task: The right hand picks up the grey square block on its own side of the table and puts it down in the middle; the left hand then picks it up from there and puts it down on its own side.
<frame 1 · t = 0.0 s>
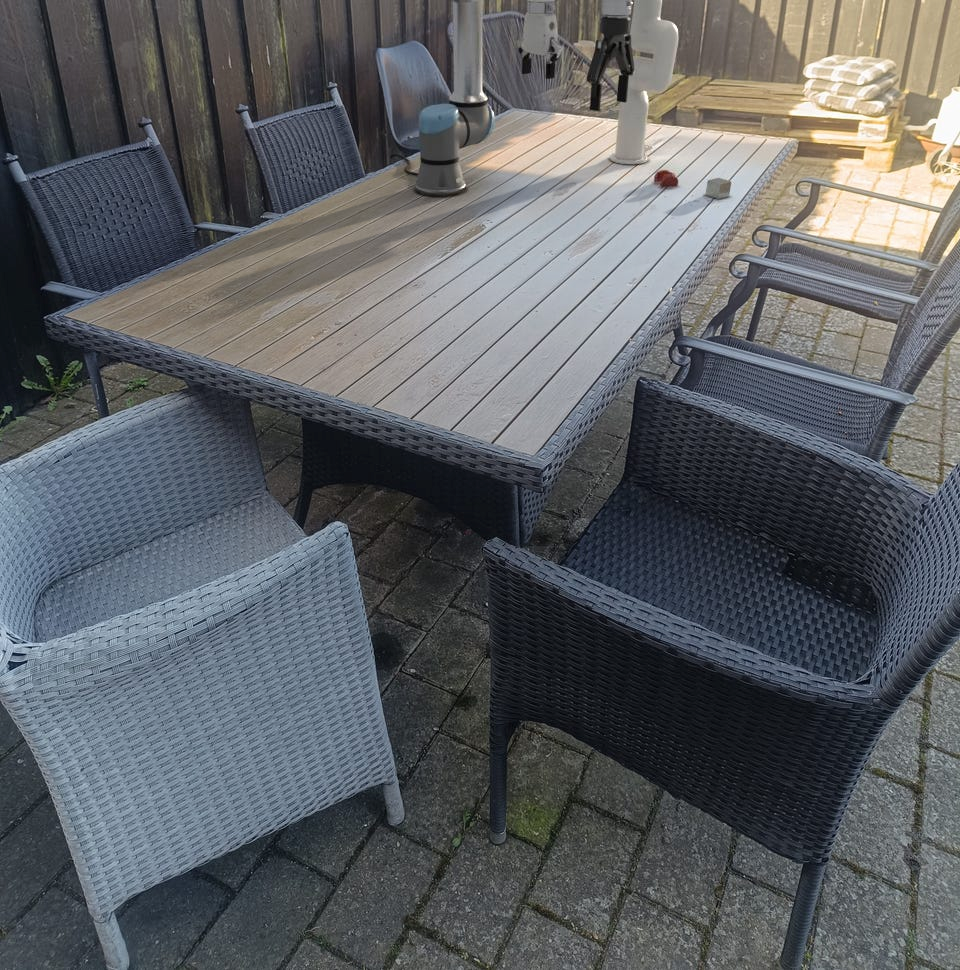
left hand: (608, 106, 226), 28 cm above the table, tool pointing down, fingers open, 13 cm apart
right hand: (538, 75, 244), 31 cm above the table, tool pointing down, fingers open, 9 cm apart
red lumpy rounded piece: (665, 184, 263), on the table
grey square block: (717, 195, 254), on the table
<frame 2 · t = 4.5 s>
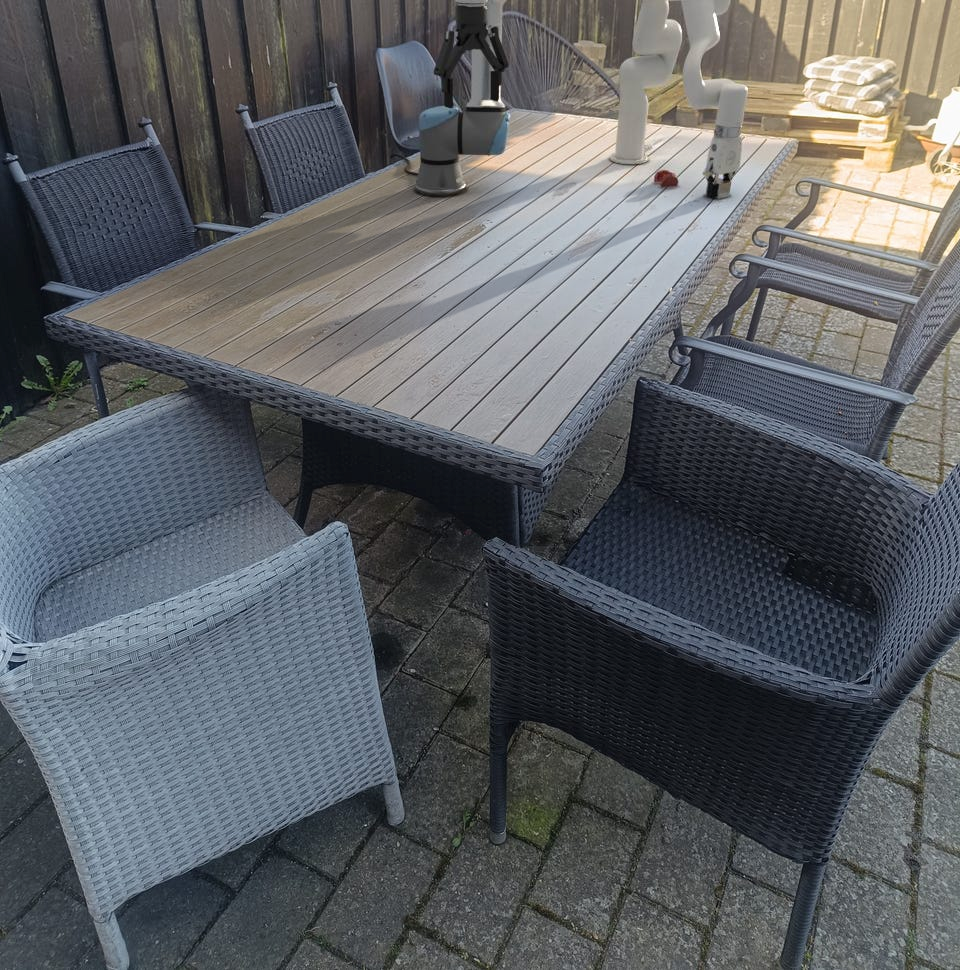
left hand: (472, 104, 206), 33 cm above the table, tool pointing down, fingers open, 13 cm apart
right hand: (717, 194, 253), 0 cm above the table, tool pointing down, fingers closed on grey square block, 4 cm apart
grey square block: (717, 195, 254), on the table, touching right hand
everything else where it was.
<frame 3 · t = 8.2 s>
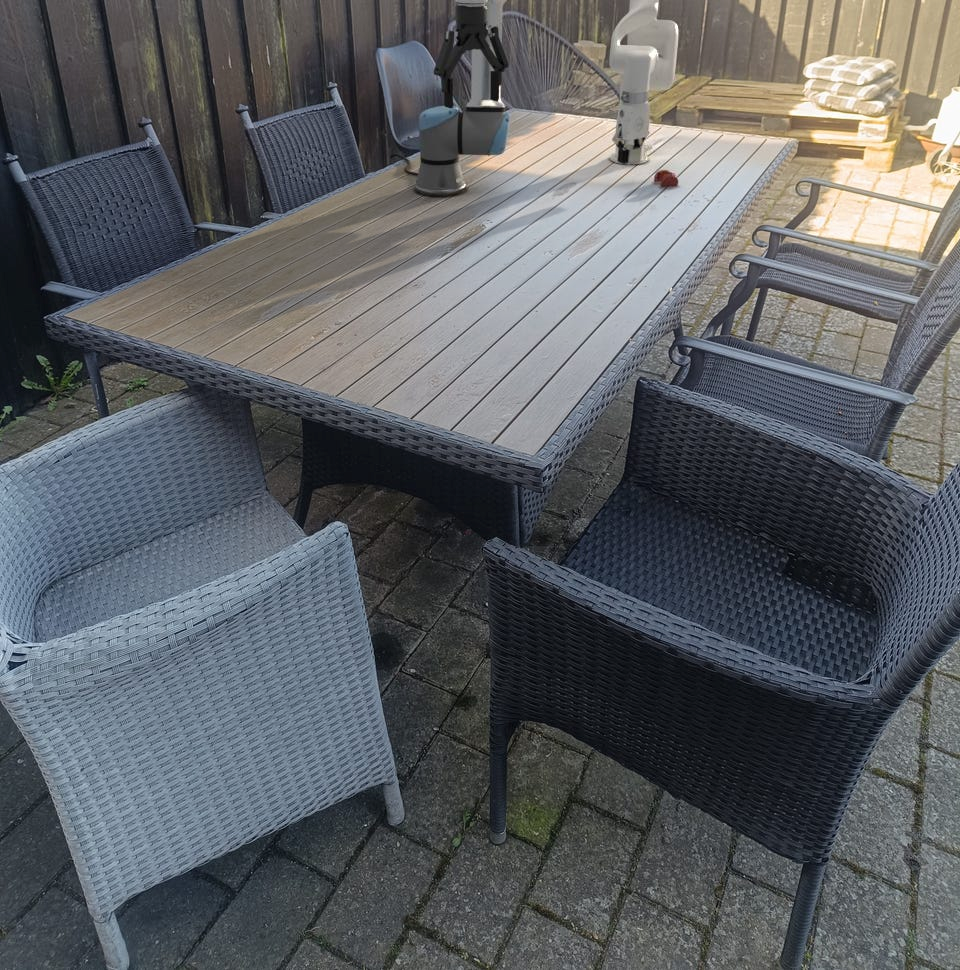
left hand: (472, 104, 206), 33 cm above the table, tool pointing down, fingers open, 13 cm apart
right hand: (628, 160, 259), 7 cm above the table, tool pointing down, fingers closed on grey square block, 4 cm apart
grey square block: (628, 161, 259), point 7 cm above the table, touching right hand
everything else where it was.
when the right hand's fingers open (1 cm above the table, at t = 11.8 s): grey square block stays where it is, on the table.
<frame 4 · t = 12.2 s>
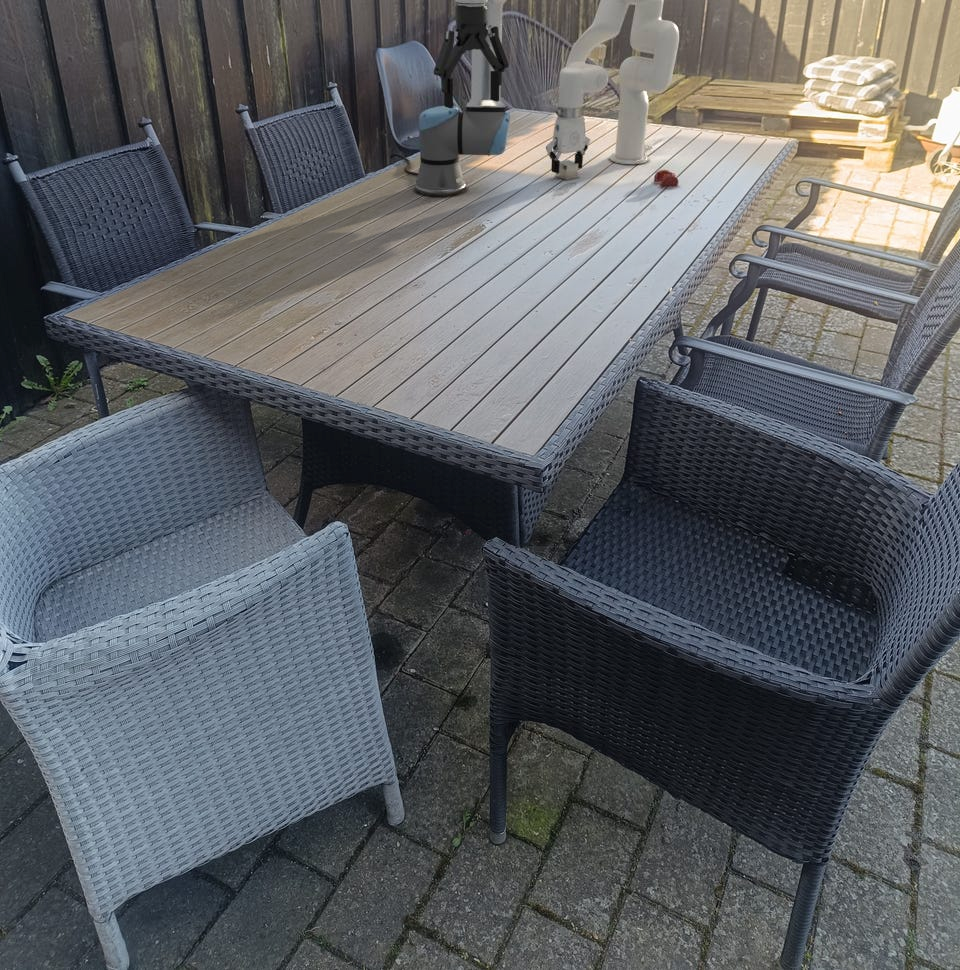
left hand: (472, 104, 206), 33 cm above the table, tool pointing down, fingers open, 13 cm apart
right hand: (566, 169, 269), 2 cm above the table, tool pointing down, fingers open, 9 cm apart
grey square block: (566, 176, 270), on the table
everything else where it was.
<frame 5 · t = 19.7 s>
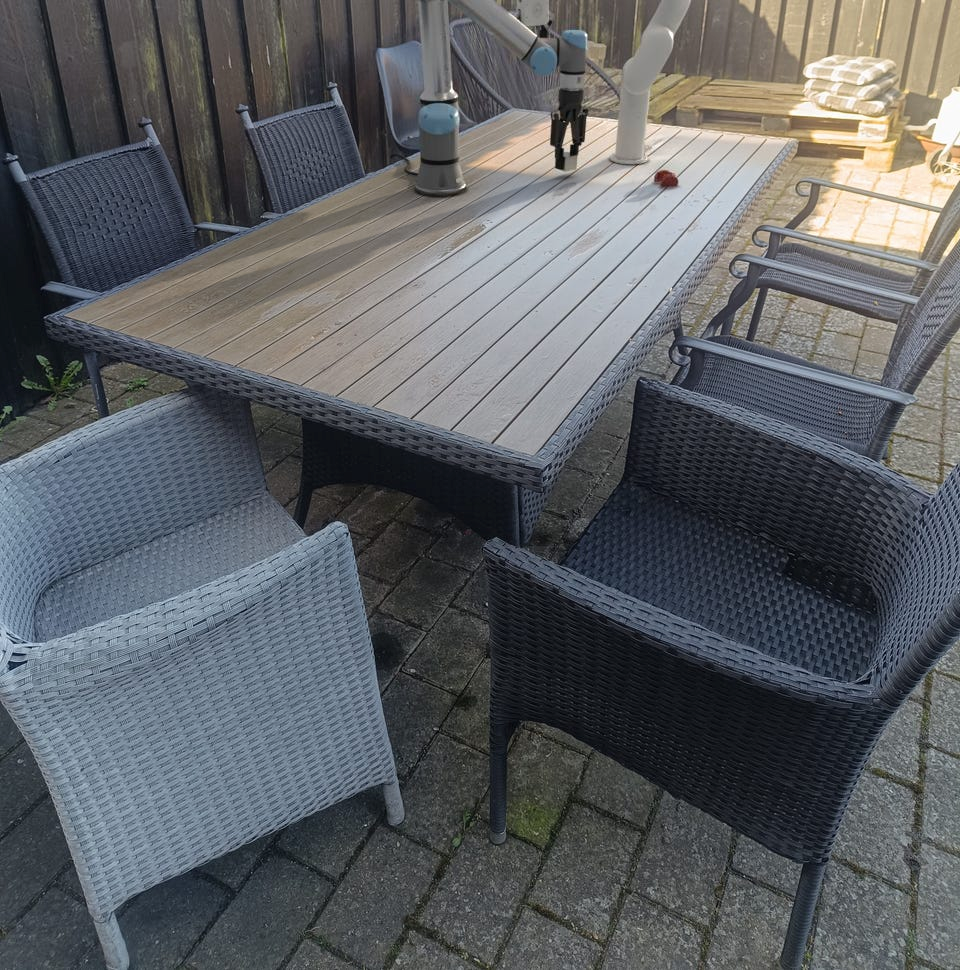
left hand: (565, 167, 268), 3 cm above the table, tool pointing down, fingers closed on grey square block, 5 cm apart
right hand: (531, 45, 269), 34 cm above the table, tool pointing down, fingers open, 9 cm apart
grey square block: (565, 168, 268), point 3 cm above the table, touching left hand
everything else where it was.
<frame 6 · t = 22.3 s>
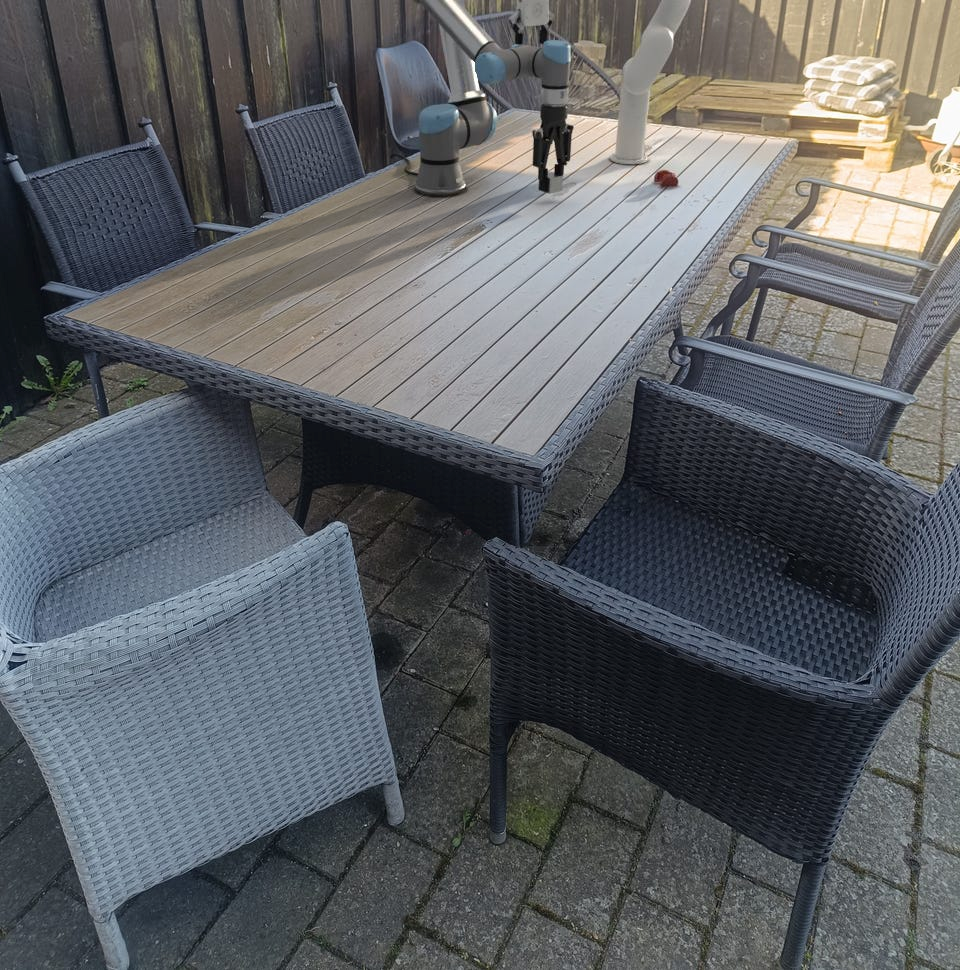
left hand: (550, 189, 246), 4 cm above the table, tool pointing down, fingers closed on grey square block, 5 cm apart
right hand: (531, 45, 269), 34 cm above the table, tool pointing down, fingers open, 9 cm apart
grey square block: (550, 190, 247), point 3 cm above the table, touching left hand
everything else where it was.
when the left hand's fingers open (1 cm above the table, at t = 24.7 s): grey square block stays where it is, on the table.
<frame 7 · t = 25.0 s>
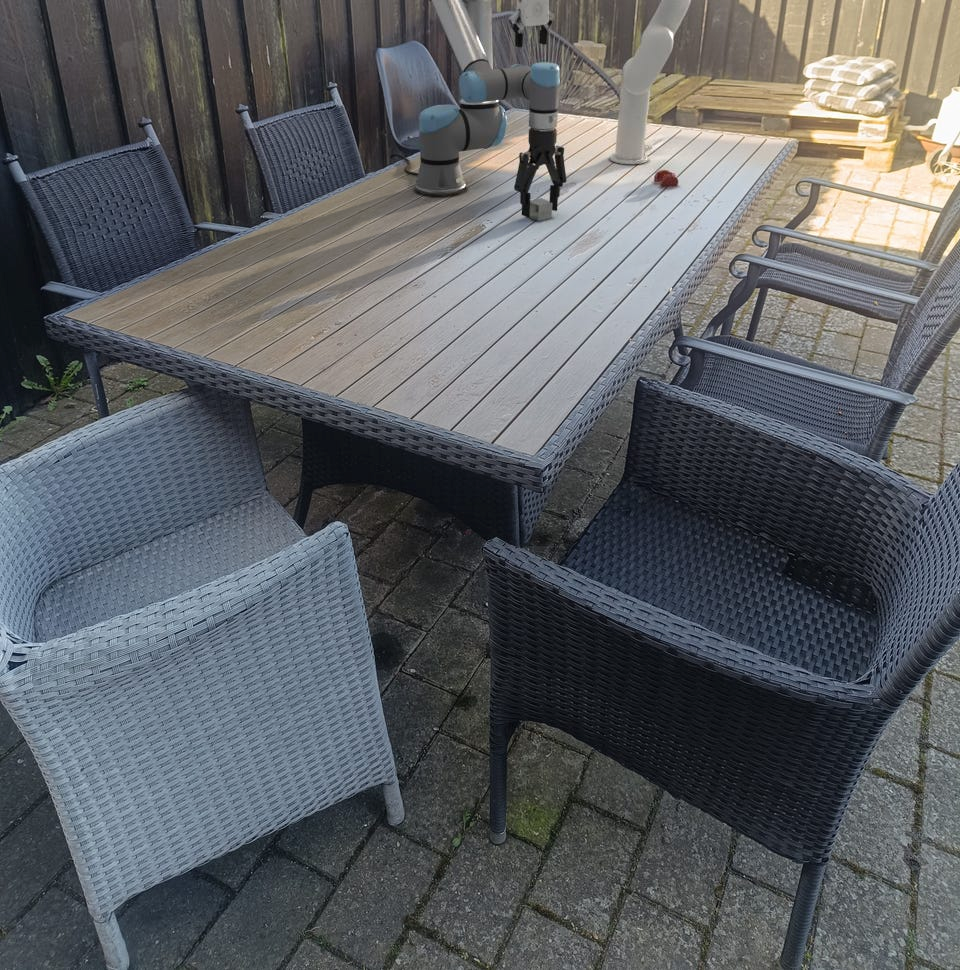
left hand: (539, 212, 237), 1 cm above the table, tool pointing down, fingers open, 9 cm apart
right hand: (531, 45, 269), 34 cm above the table, tool pointing down, fingers open, 9 cm apart
grey square block: (539, 217, 237), on the table
everything else where it was.
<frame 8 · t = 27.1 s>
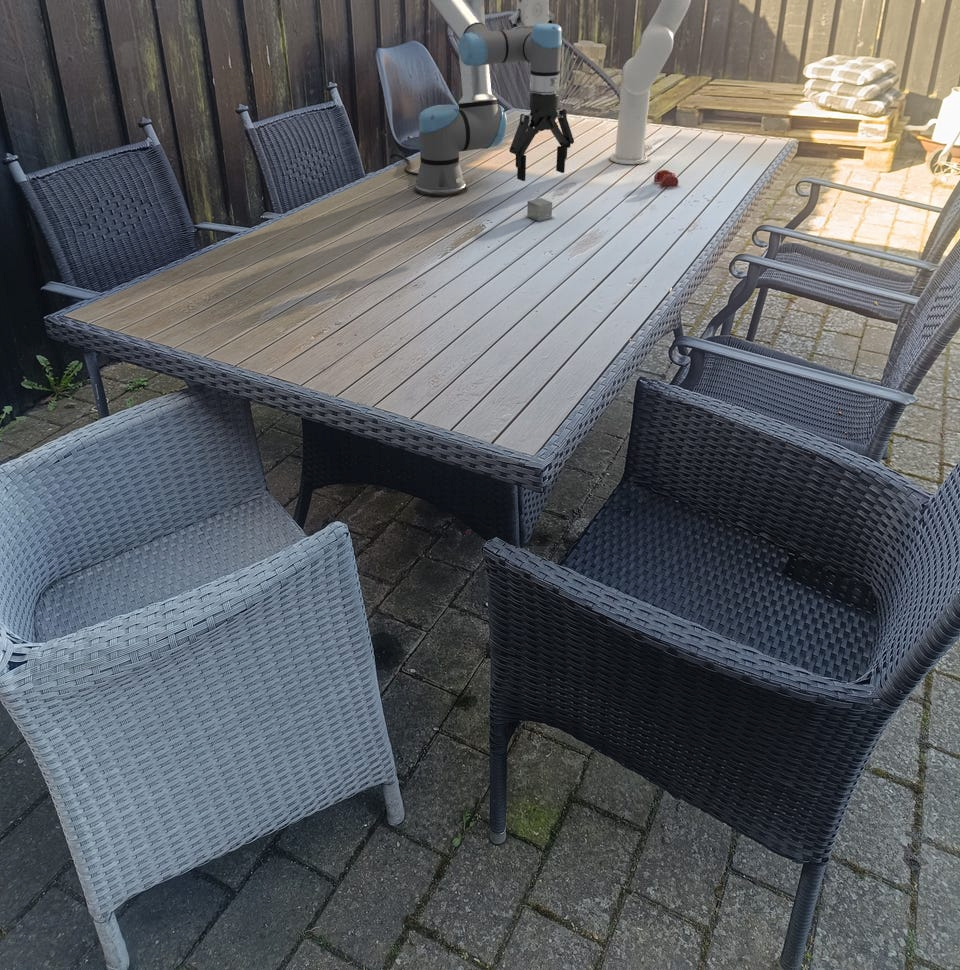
left hand: (541, 175, 231), 11 cm above the table, tool pointing down, fingers open, 13 cm apart
right hand: (531, 45, 269), 34 cm above the table, tool pointing down, fingers open, 9 cm apart
nothing on the table moved.
at the end: grey square block inside the target area (0.0 cm from its centre), on the table; grey square block tilted 0°; the two hands never held the grey square block at the same time; the left hand is holding nothing; the right hand is holding nothing; grey square block at rest at the end (0.0 cm/s) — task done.
